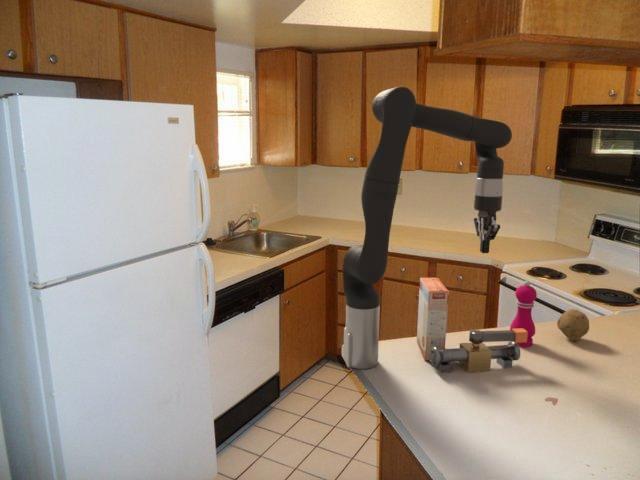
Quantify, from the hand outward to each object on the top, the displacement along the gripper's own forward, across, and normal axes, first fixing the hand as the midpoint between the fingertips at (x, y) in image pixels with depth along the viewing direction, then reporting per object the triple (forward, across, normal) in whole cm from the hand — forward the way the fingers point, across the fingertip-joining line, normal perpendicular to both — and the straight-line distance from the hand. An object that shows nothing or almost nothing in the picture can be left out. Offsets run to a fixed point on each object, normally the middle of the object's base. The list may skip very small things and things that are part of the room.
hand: (484, 252), depth 149 cm
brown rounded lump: (+29, +1, -31) cm, 43 cm away
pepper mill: (+29, 0, -14) cm, 32 cm away
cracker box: (+29, -3, +16) cm, 33 cm away
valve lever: (+21, -15, +1) cm, 26 cm away
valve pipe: (+29, -14, +7) cm, 33 cm away
